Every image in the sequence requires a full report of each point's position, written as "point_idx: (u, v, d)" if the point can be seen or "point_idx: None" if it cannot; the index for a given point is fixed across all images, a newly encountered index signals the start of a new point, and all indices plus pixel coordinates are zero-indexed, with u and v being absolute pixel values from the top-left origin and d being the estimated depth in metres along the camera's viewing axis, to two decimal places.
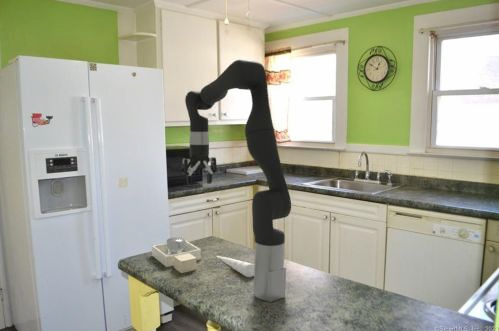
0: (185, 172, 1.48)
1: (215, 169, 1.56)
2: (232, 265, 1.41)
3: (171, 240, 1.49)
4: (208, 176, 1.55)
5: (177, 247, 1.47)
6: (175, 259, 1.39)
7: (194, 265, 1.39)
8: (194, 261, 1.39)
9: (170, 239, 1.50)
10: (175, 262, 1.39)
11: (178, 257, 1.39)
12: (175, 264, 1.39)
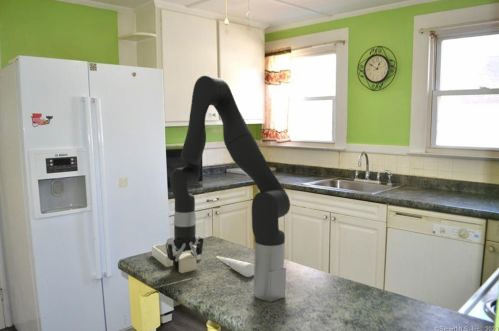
0: (171, 258, 1.35)
1: (200, 251, 1.42)
2: (231, 265, 1.41)
3: (171, 240, 1.49)
4: None
5: None
6: None
7: (194, 265, 1.39)
8: (194, 261, 1.39)
9: (170, 239, 1.50)
10: None
11: None
12: None
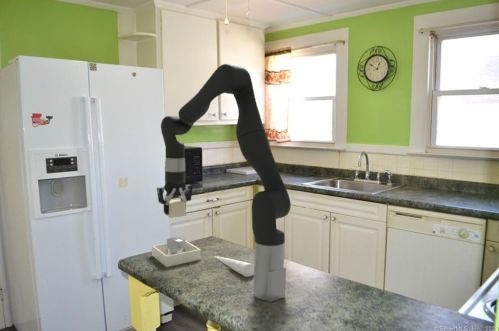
0: (162, 201, 1.43)
1: (189, 197, 1.50)
2: (230, 265, 1.41)
3: (171, 240, 1.49)
4: None
5: (177, 247, 1.47)
6: None
7: (183, 209, 1.47)
8: (183, 205, 1.47)
9: (170, 239, 1.50)
10: None
11: None
12: None
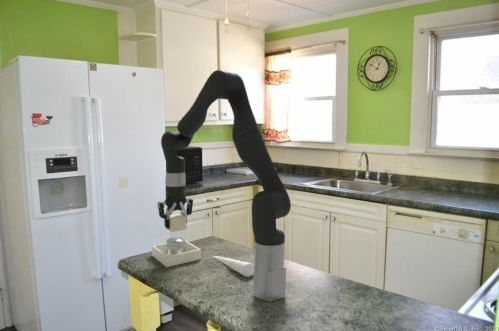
0: (163, 216, 1.45)
1: (190, 211, 1.51)
2: (230, 265, 1.41)
3: (171, 240, 1.49)
4: None
5: (177, 247, 1.47)
6: None
7: (184, 223, 1.48)
8: (184, 219, 1.48)
9: (170, 239, 1.50)
10: None
11: None
12: None
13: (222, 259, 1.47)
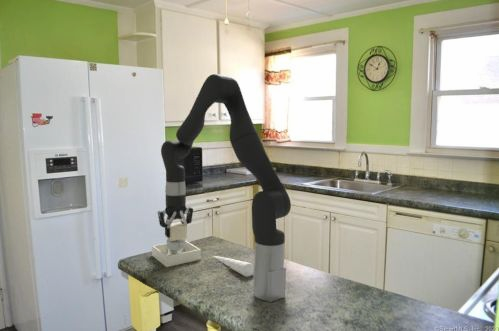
0: (163, 225, 1.45)
1: (190, 220, 1.51)
2: (230, 265, 1.41)
3: None
4: None
5: (177, 247, 1.47)
6: None
7: (184, 232, 1.48)
8: (184, 228, 1.48)
9: None
10: None
11: None
12: None
13: (222, 259, 1.47)
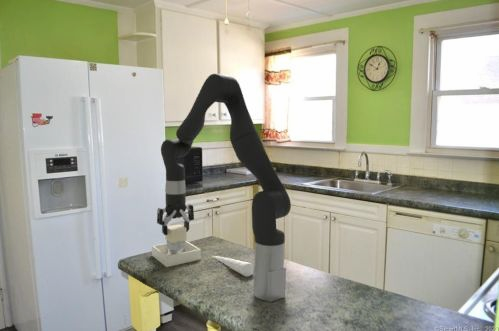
0: (160, 222, 1.44)
1: (192, 217, 1.52)
2: (230, 265, 1.41)
3: None
4: (185, 224, 1.51)
5: (177, 247, 1.47)
6: None
7: (184, 235, 1.49)
8: (184, 231, 1.48)
9: None
10: None
11: (169, 227, 1.49)
12: None
13: (221, 259, 1.47)
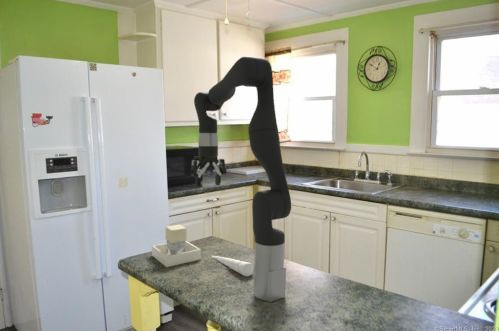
0: (194, 174, 1.47)
1: (224, 170, 1.55)
2: (229, 264, 1.41)
3: None
4: (217, 178, 1.54)
5: (177, 247, 1.47)
6: (166, 229, 1.49)
7: (184, 235, 1.48)
8: (184, 231, 1.48)
9: None
10: (166, 232, 1.49)
11: (169, 227, 1.49)
12: (166, 234, 1.49)
13: (221, 259, 1.47)
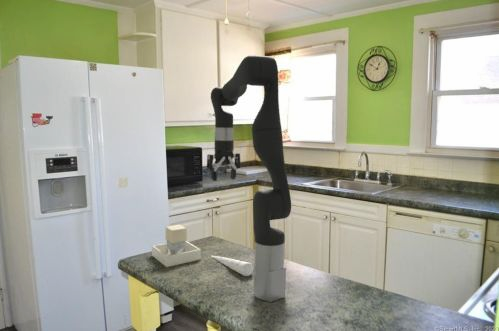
0: (210, 168, 1.50)
1: (239, 165, 1.57)
2: (229, 264, 1.41)
3: None
4: (232, 172, 1.57)
5: (177, 247, 1.47)
6: (166, 229, 1.49)
7: (184, 235, 1.49)
8: (184, 231, 1.48)
9: None
10: (166, 232, 1.49)
11: (169, 227, 1.49)
12: (166, 234, 1.49)
13: (220, 259, 1.47)
